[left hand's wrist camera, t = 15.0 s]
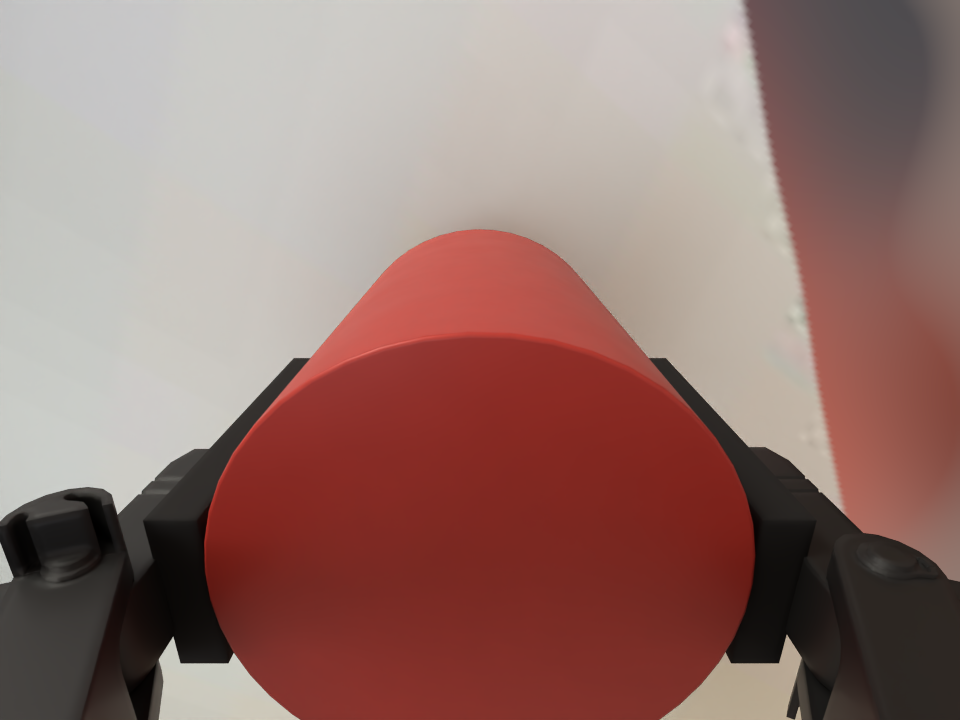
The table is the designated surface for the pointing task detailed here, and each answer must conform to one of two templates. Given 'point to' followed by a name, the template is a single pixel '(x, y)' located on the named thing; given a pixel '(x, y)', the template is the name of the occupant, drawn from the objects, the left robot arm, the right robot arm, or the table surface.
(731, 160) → the table surface
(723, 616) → the canister
